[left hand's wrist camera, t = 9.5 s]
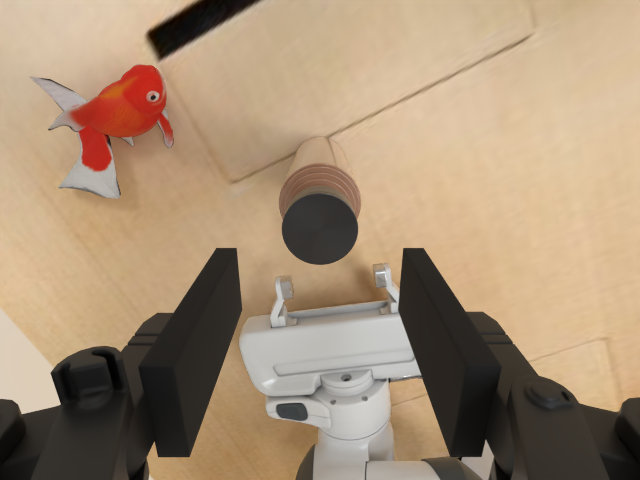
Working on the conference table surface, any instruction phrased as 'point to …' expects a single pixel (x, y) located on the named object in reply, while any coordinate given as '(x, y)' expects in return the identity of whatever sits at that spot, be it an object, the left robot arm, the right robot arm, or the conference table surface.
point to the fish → (109, 124)
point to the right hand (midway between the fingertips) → (331, 272)
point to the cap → (319, 225)
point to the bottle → (319, 172)
